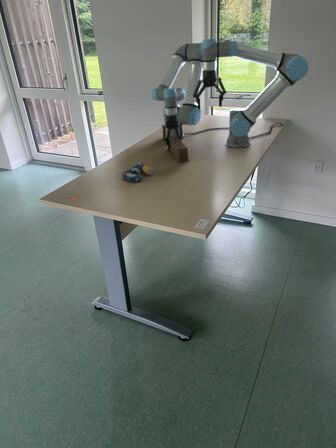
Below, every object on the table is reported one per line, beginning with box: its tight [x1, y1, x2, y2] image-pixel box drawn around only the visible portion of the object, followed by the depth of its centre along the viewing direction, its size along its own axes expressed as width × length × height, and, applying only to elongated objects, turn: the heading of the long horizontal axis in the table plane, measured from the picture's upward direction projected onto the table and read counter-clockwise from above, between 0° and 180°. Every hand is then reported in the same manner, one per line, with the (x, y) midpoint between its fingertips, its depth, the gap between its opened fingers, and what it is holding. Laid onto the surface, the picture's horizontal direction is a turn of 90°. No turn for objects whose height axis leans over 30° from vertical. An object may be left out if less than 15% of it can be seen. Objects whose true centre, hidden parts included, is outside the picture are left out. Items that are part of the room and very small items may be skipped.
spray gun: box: [120, 162, 154, 183], centre depth 191 cm, size 21×4×15 cm
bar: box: [169, 135, 189, 163], centre depth 215 cm, size 28×6×9 cm, turn 14°
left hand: (173, 149), depth 225 cm, fingers closed on bar, 6 cm apart
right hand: (209, 108), depth 202 cm, fingers open, 13 cm apart
